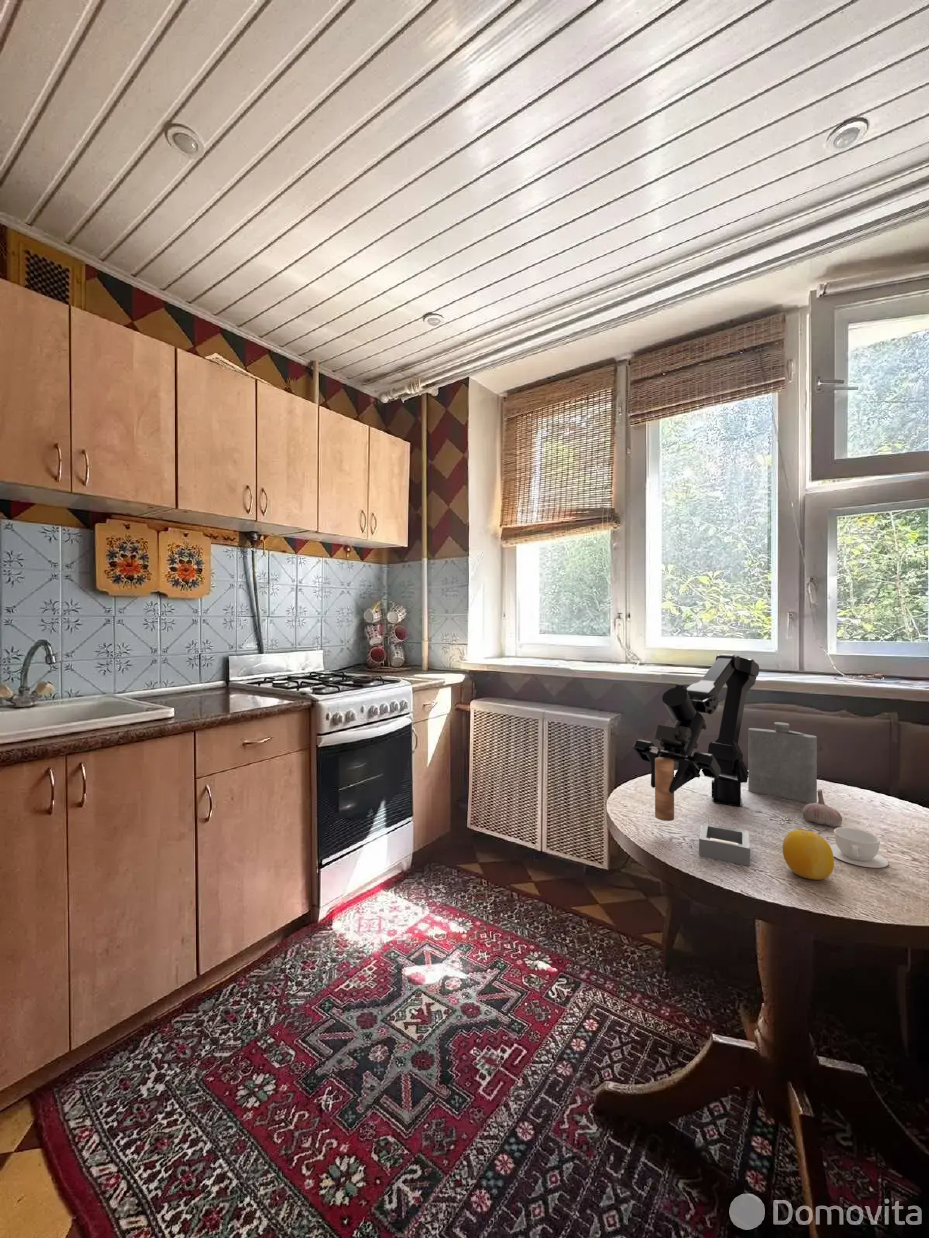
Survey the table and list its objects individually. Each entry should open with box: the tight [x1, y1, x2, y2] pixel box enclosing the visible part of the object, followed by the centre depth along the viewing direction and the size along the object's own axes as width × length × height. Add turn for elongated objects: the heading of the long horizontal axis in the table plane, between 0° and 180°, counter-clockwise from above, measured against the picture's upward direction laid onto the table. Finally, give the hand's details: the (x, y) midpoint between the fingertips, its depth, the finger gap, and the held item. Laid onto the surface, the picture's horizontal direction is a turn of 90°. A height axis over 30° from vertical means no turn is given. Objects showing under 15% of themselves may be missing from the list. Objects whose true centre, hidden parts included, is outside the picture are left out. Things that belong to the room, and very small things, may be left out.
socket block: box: [698, 822, 751, 867], centre depth 103 cm, size 9×9×4 cm
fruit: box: [782, 829, 835, 881], centre depth 94 cm, size 9×8×8 cm
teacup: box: [829, 826, 889, 869], centre depth 101 cm, size 10×10×5 cm
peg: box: [654, 757, 675, 822], centre depth 111 cm, size 4×4×13 cm
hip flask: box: [747, 721, 818, 804], centre depth 136 cm, size 16×4×20 cm, turn 50°
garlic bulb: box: [802, 788, 843, 828], centre depth 118 cm, size 8×7×8 cm
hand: (661, 789), depth 111 cm, fingers closed on peg, 4 cm apart
